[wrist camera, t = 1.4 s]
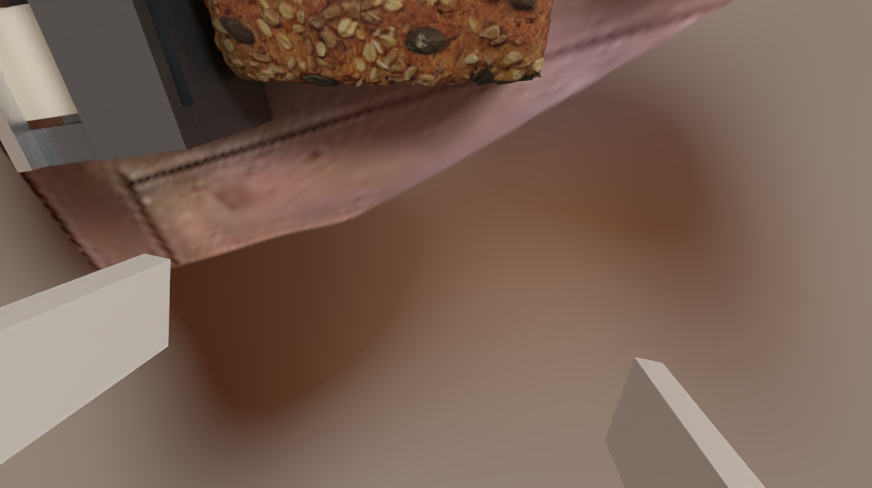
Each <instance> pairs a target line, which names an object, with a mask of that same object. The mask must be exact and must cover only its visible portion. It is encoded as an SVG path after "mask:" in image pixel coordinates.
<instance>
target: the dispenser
mask: <svg viewBox="0 0 872 488" xmlns="http://www.w3.org/2000/svg"><path fill="white" fill-rule="evenodd" d="M28 3H29V5H30V7H31V9H32V12H33V14H34V16H35V18H36V20H37V23H38V25H39V27H40V29H41V32H42V34H43V36H44V38H45V40H46V43H47V45H48V47H49V49H50V52H51V54H52V56H53V58H54V60H55V63H56V65H57V67H58V69H59V72H60V74H61V76H62V78H63V80H64V83H65V85H66V87H67V89H68V92H69V94H70V96H71V98H72V101H73V103H74V105H75V107H76V109H77V112H78V113H77V114H70V115H64V116H61V118H62V120H63V122H64V124H63V125H57V126H51V127H46V128H40V129H34V130H30V128H29V126H28V124H27V122H26V120H25V118H24V116H23V114H22V112H21V110H20V108H19V106H18V104H17V102H16V100H15V98H14V96H13V94H12V92H11V90H10V88H9V86H8V84H7V82H6V80H5V78H4V76H3V74H2V72H1V70H0V140H1V142H2V144H3V146H4V148H5V149H6V151H7V153H8V155H9V157H10V159H11V161H12V163H13V165H14V166H15V168H16V170H17V172H25V171H32V170H36V169H40V168H44V167H47V166H53V165H61V164H68V163H75V162H82V161H90V160H97V159H99V161H105V160H112V159H120V158H127V157H134V156H141V155H149V154H156V153H163V152H170V151H178V150H185V149H189V148H192V147H195V146H198V145H201V144H204V143H207V142H209V141H212V140H215V139H218V138H221V137H224V136H227V135H230V134H233V133H236V132H239V131H242V130H245V129H248V128H251V127H254V126H257V125H260V124H263V123H266V122H268V121H271V120H272V117H271V113H270V110H269V106H268V103H267V99H266V95H265V92H264V88H263V85H262V81H253V80H249V79H245V78H241V77H239V76H238V75H237V74H236V73H235V72H233V71H232V70H231V69H230V67H229V66H228V65H227V64H226V62H225V61H224V58H223V53H222V52H221V51H220V50H219V49H218V47H217V45H216V43H215V41H214V40H215V28H214V26H213V25H212V21H211V16H210V12H209V10H208V9H207V8H206V5H205V3H204V1H203V0H147V3H148V5H147V3H146V0H0V7H6V8H7V7H12V6H17V5H23V4H28ZM148 6H149V8H148ZM149 9H150V11H151V14H152V17H153V19H152V17H151V14H150V11H149ZM153 20H154V22H153ZM154 23H155V25H154ZM155 26H156V28H157V31H158V34H159V36H158V34H157V31H156V28H155ZM159 37H160V39H159ZM160 40H161V42H160ZM161 43H162V45H163V48H164V51H165V53H164V51H163V48H162V45H161ZM165 54H166V56H165ZM166 57H167V59H168V62H169V65H170V67H169V65H168V62H167V59H166ZM170 68H171V70H170ZM171 71H172V73H171ZM172 74H173V76H174V79H175V82H176V84H175V82H174V79H173V76H172ZM176 85H177V87H176ZM177 88H178V90H177ZM178 91H179V93H180V96H181V98H180V96H179V93H178Z"/></svg>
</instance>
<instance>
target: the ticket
mask: <svg viewBox="0 0 872 488" xmlns="http://www.w3.org/2000/svg"><path fill="white" fill-rule="evenodd" d="M146 3H147V0H146ZM147 5H148V3H147ZM148 8H149V6H148ZM149 11H150V9H149ZM150 14H151V11H150ZM151 17H152V14H151ZM152 19H153V17H152ZM153 22H154V20H153ZM154 25H155V23H154ZM155 28H156V26H155ZM156 31H157V28H156ZM157 34H158V31H157ZM158 36H159V34H158ZM159 39H160V37H159ZM160 42H161V40H160ZM161 45H162V43H161ZM162 48H163V45H162ZM163 51H164V48H163ZM164 53H165V51H164ZM165 56H166V54H165ZM166 59H167V57H166ZM167 62H168V59H167ZM168 65H169V62H168ZM169 67H170V65H169ZM0 70H1V72H2V74H3V76H4V78H5V80H6V82H7V84H8V86H9V88H10V90H11V92H12V94H13V96H14V98H15V100H16V102H17V104H18V106H19V108H20V110H21V112H22V114H23V116H24V118H25V120H26V121H31V120H37V119H44V118H50V117H57V116H64V115H70V114H77V113H78V112H77V109H76V107H75V105H74V103H73V101H72V98H71V96H70V94H69V92H68V89H67V87H66V85H65V83H64V80H63V78H62V76H61V74H60V72H59V69H58V67H57V65H56V63H55V60H54V58H53V56H52V54H51V52H50V49H49V47H48V45H47V43H46V40H45V38H44V36H43V34H42V32H41V29H40V27H39V25H38V23H37V20H36V18H35V16H34V14H33V12H32V9H31V7H30V5H29V3H28V4H23V5H17V6H12V7H7V8H1V9H0ZM170 70H171V68H170ZM171 73H172V71H171ZM172 76H173V74H172ZM173 79H174V76H173ZM174 82H175V79H174ZM175 84H176V82H175ZM176 87H177V85H176ZM177 90H178V88H177ZM178 93H179V91H178ZM179 96H180V93H179ZM180 98H181V96H180Z"/></svg>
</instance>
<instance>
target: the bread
mask: <svg viewBox="0 0 872 488" xmlns="http://www.w3.org/2000/svg"><path fill="white" fill-rule="evenodd" d="M203 1H204V3H205V5H206V8H207V9H208V10H209V12H210V16H211V21H212V25H213V26H214V28H215V40H214V41H215V43H216V45H217V47H218V49H219V50H220V51H221V52H222V53H223V58H224V61H225V62H226V64H227V65H228V66H229V67H230V69H231V70H232V71H233V72H235V73H236V74H237V75H238V76H239V77H241V78H245V79H249V80H253V81H265V82H267V81H269V80H273V81H277V82H300V83H310V84H317V85H320V86H323V87H333V86H337V85H340V84H348V85H354V86H360V85H362V84H365V85H368V86H376V85H384V86H388V85H390V84H392V83H393V82H402V81H403V82H404V83H405V84H408V85H413V86H414V85H416V84H422V85H424V86H430V87H433V86H434V85H443V84H452V85H454V84H460V83H465V82H472V83H474V84H476V85H478V86H480V85H485V84H490V83H496V84H508V83H513V82H517V81H527V80H532V79H533V78H536V77H541V75H540V72H541V69H542V66H543V62H544V51H545V49H546V45H547V42H548V39H547V34H548V32H549V26H550V22H551V20H550V15H551V10H552V5H553V0H203Z"/></svg>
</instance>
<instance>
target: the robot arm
mask: <svg viewBox="0 0 872 488" xmlns="http://www.w3.org/2000/svg"><path fill="white" fill-rule="evenodd" d="M169 291H170V259H166V258H162V257H157V256H152V255H147V254H142V255H140V256H137V257H134V258H132V259H129V260H126V261H124V262H121V263H118V264H115V265H113V266H110V267H107V268H105V269H102V270H99V271H97V272H94V273H91V274H89V275H86V276H83V277H81V278H78V279H75V280H72V281H70V282H67V283H64V284H62V285H59V286H56V287H54V288H51V289H48V290H46V291H43V292H40V293H38V294H35V295H32V296H30V297H27V298H24V299H21V300H19V301H16V302H14V303H11V304H8V305H5V306H3V307H0V464H2V463H3V462H4V461H6V460H7V459H9V458H10V457H11V456H13V455H14V454H16V453H17V452H19V451H20V450H22V449H23V448H24V447H26V446H27V445H29V444H30V443H31V442H33V441H34V440H36V439H37V438H39V437H40V436H41V435H43V434H44V433H46V432H47V431H48V430H50V429H51V428H53V427H54V426H56V425H57V424H58V423H60V422H61V421H63V420H64V419H65V418H67V417H68V416H70V415H71V414H72V413H74V412H75V411H77V410H78V409H80V408H81V407H82V406H84V405H85V404H87V403H88V402H90V401H91V400H92V399H94V398H95V397H97V396H98V395H99V394H101V393H102V392H104V391H105V390H106V389H108V388H109V387H111V386H112V385H114V384H115V383H117V382H118V381H119V380H121V379H122V378H124V377H125V376H126V375H128V374H129V373H131V372H132V371H134V370H135V369H136V368H138V367H139V366H141V365H142V364H143V363H145V362H146V361H148V360H149V359H151V358H152V357H153V356H155V355H156V354H158V353H159V352H160V351H162V350H163V349H165V348H166V347H168V332H169V329H168V328H169ZM605 442H606V445H607V447H608V449H609V451H610V454H611V456H612V458H613V461H614V463H615V465H616V468H617V470H618V472H619V475H620V477H621V479H622V482H623V484H624V486H625V488H765V487H764V486H763V485H762V483H761V482H760V481H759V480H758V479H757V478H756V476H755V475H754V474H753V472H752V471H751V470H750V469H749V468H748V466H747V465H746V464H745V463H744V462H743V460H742V459H741V458H740V457H739V455H738V454H737V453H736V452H735V451H734V449H733V448H732V447H731V446H730V445H729V443H728V442H727V441H726V440H725V438H724V437H723V436H722V435H721V434H720V432H719V431H718V430H717V429H716V428H715V427H714V425H713V424H712V423H711V421H710V420H709V419H708V418H707V417H706V415H705V414H704V413H703V412H702V410H700V408H699V407H698V406H697V404H696V403H695V402H694V401H693V400H692V398H691V397H690V396H689V395H688V394H687V392H686V391H685V390H684V389H683V387H682V386H681V385H680V384H679V383H678V381H677V380H676V379H675V378H674V377H673V375H672V374H671V373H670V372H669V370H668V369H667V368H666V367H665V366H664V364H663V363H660V362H655V361H650V360H645V359H641V358H636V357H635V358H634V360H633V363H632V366H631V368H630V371H629V374H628V377H627V380H626V383H625V385H624V388H623V391H622V394H621V397H620V400H619V402H618V405H617V408H616V411H615V414H614V417H613V419H612V423H611V425H610V428H609V431H608V434H607V437H606V439H605Z"/></svg>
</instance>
